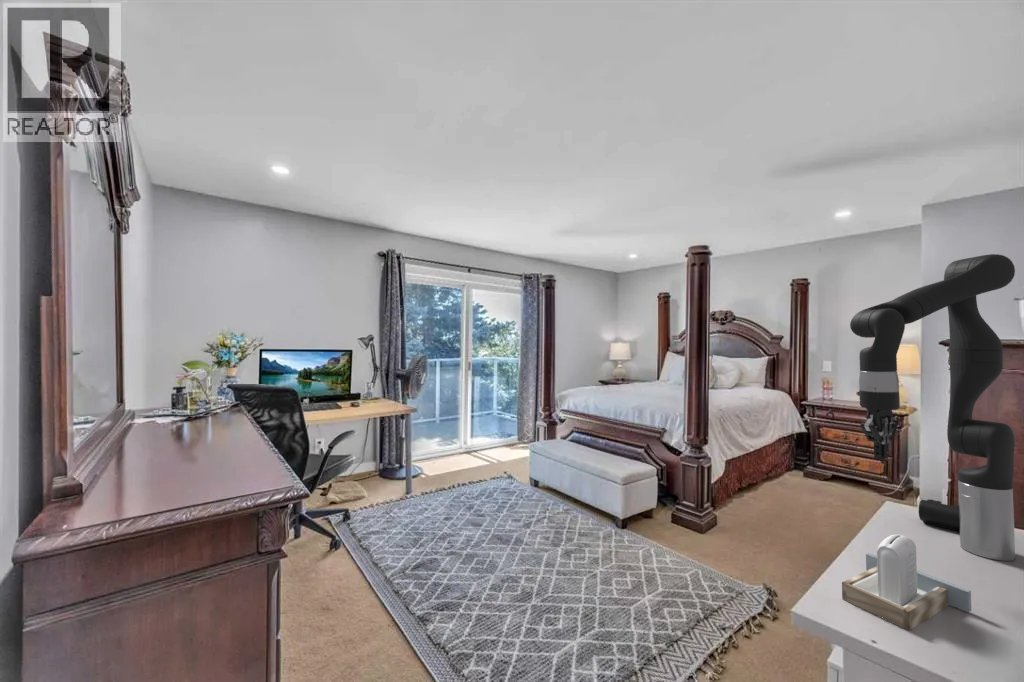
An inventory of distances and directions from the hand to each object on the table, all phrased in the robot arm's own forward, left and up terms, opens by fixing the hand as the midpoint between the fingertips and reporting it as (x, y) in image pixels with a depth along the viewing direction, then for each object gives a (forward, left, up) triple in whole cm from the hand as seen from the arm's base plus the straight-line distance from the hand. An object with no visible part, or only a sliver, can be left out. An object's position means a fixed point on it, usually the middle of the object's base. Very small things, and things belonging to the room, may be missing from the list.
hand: (881, 458), depth 104 cm
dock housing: (+18, +10, -25) cm, 33 cm away
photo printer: (+18, +10, -24) cm, 32 cm away
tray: (+18, +10, -25) cm, 33 cm away
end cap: (-36, -1, -25) cm, 44 cm away
